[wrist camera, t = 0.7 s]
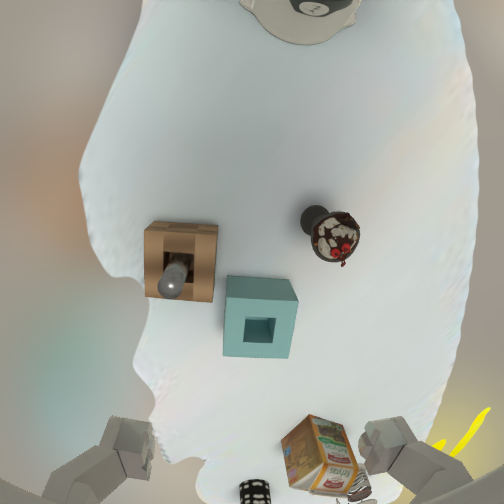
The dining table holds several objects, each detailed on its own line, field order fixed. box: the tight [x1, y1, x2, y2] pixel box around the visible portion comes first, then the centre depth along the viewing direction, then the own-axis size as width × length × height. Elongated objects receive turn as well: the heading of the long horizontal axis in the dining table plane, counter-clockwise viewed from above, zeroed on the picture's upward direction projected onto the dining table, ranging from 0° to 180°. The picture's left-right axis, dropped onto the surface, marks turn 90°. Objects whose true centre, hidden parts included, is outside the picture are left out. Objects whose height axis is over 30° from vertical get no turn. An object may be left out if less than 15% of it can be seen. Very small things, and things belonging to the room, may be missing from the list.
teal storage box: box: [223, 276, 299, 359], centre depth 48 cm, size 10×10×8 cm
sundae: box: [301, 206, 360, 267], centre depth 41 cm, size 7×7×15 cm
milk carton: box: [281, 414, 359, 499], centre depth 54 cm, size 11×11×19 cm
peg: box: [157, 252, 193, 299], centre depth 42 cm, size 3×3×12 cm
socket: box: [144, 221, 218, 303], centre depth 46 cm, size 10×10×6 cm
